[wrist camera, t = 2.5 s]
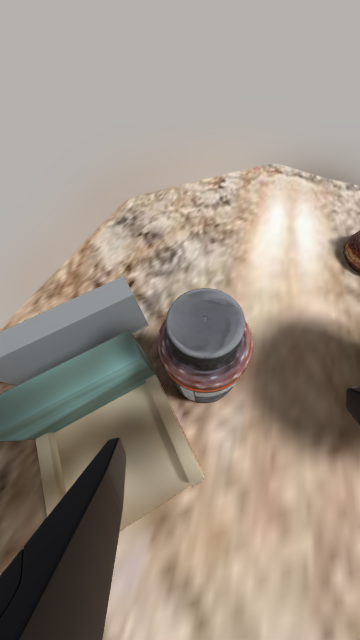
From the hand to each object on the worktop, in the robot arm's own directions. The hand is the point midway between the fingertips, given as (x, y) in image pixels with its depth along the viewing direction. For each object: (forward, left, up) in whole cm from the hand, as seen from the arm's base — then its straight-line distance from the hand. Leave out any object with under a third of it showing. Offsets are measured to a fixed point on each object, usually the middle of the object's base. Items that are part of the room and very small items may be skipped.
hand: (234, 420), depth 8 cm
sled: (+8, +4, -11) cm, 14 cm away
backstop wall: (+15, -3, -11) cm, 19 cm away
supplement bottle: (+2, -4, -12) cm, 13 cm away
